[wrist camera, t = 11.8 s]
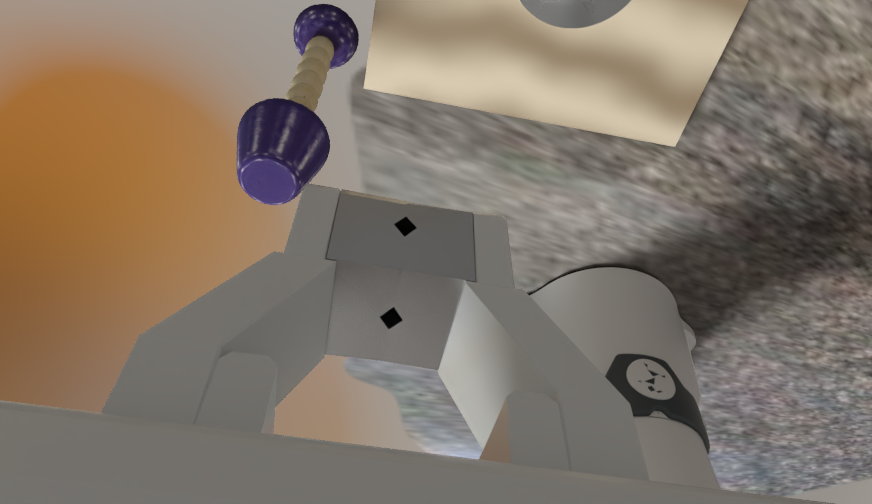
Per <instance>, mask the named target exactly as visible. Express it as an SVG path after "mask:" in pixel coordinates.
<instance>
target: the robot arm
mask: <svg viewBox="0 0 872 504" xmlns="http://www.w3.org/2000/svg"><path fill="white" fill-rule="evenodd" d="M695 345H696V338H695V334H694V331H693V330H692V328H691V327H690V326H689V325H688V324H687V323H685V322H684V321H683V320H682V319H681V317H680V315H679V312H678V308H677V303H676V301H675V298H674V296H673V295H672V293H671V292H670V290H669V289H668V288H667V287H666V286H665V285H664V284H663V283H661V282H660V281H658V280H657V279H655V278H654V277H652V276H650V275H647V274H645V273H642V272H639V271H635V270H631V269H625V268H615V267H605V268H593V269H587V270H582V271H578V272H575V273H572V274H569V275H566V276H564V277H561V278H559V279H557V280H555V281H553V282H551V283H550V284H548V285H546V286H545V287H543V288H542V289H540V290H539V291H537V292H535V293H533V294H531V295H528V294H527V293H526V292H525V291H524V290H520V289H515V287H514V279H513V270H512V262H511V253H510V245H509V237H508V228H507V220H506V219H505V217H504V216H501V215H493V214H486V213H479V212H465V211H459V210H453V209H446V208H440V207H434V206H427V205H421V204H415V203H408V202H406V201H401V200H396V199H391V198H385V197H380V196H375V195H369V194H364V193H358V192H354V191H348V190H343V189H342V191H340V190H339V189H337V188H331V187H325V186H320V185H314V184H308V183H307V184H306V186H305V187H304V188H303V192H302V194H301V198H300V201H299V205H298V208H297V211H296V214H295V218H294V221H293V224H292V228H291V231H290V235H289V238H288V241H287V245H286V248H285V251H284V253H281V252H272V253H270V254H269V255H268V256H266V257H264V258H262V259H261V260H259V261H258V262H256V263H255V264H253V265H251V266H250V267H248V268H247V269H245V270H243V271H242V272H240V273H238V274H237V275H236V276H234V277H232V278H230V279H229V280H227V281H226V282H224V283H222V284H221V285H220V286H218V287H216V288H214V289H213V290H211V291H210V292H208V293H206V294H205V295H203V296H202V297H200V298H199V299H197V300H195V301H194V302H192V303H190V304H189V305H187V306H186V307H184V308H182V309H181V310H179V311H178V312H176V313H174V314H173V315H171V316H169V317H168V318H166V319H165V320H163V321H162V322H160V323H158V324H157V325H155V326H153V327H152V328H150V329H149V330H147V331H146V332H144V333H142V334H141V335H139V337H138V339H137V341H136V343H135V345H134V347H133V349H132V352H131V353H130V355H129V357H128V359H127V361H126V363H125V365H124V368H123V369H122V372H121V374H120V376H119V378H118V380H117V382H116V384H115V386H114V388H113V390H112V392H111V394H110V396H109V398H108V400H107V402H106V404H105V406H104V408H103V410H102V412H101V413H97V412H89V411H81V410H72V409H65V408H56V407H48V406H40V405H33V404H25V403H17V402H8V401H0V504H834V503H826V502H818V501H809V500H802V499H793V498H786V497H777V496H769V495H761V494H753V493H745V492H737V491H729V490H721V489H720V486H719V483H718V481H717V478H716V476H715V473H714V471H713V468H712V465H711V462H710V460H709V457H708V454H709V448H710V445H709V440H708V436H707V429H706V424H705V421H704V418H703V416H702V415H701V414H700V411H699V408H698V406H700V405H701V400H702V398H701V392H700V388H699V384H698V380H697V376H696V372H695V367H694V363H693V360H692V356H691V352H690V351H691V350H692V349H693V348H694V346H695ZM324 354H327V355H336V356H345V357H354V358H363V359H372V360H380V361H387V362H393V363H399V364H405V365H411V366H417V367H423V368H429V369H435V370H438V374H439V376H440V377H441V379H442V381H443V383H444V384H445V386H446V388H447V389H448V391H449V393H450V395H451V396H452V398H453V400H454V402H455V403H456V405H457V407H458V408H459V410H460V412H461V414H462V415H463V417H464V419H465V420H466V422H467V424H468V426H469V427H470V429H471V431H472V432H473V434H474V436H475V438H476V439H477V441H478V443H479V444H480V446H481V448H482V450H483V452H482V454H481V456H480V458H479V459H470V458H462V457H454V456H446V455H438V454H430V453H422V452H413V451H405V450H397V449H389V448H381V447H373V446H364V445H356V444H349V443H340V442H332V441H324V440H316V439H308V438H300V437H292V436H284V435H276V434H273V433H274V417H275V407H276V406H277V405H278V404H279V403H280V402H281V401H282V400H283V399H284V398H285V397H286V396H287V395H288V394H289V393H290V392H291V391H292V390H293V388H294V387H296V386H297V385H298V384H299V383H300V381H301V380H302V379H303V378H304V377H305V376H306V375H307V374H308V373H309V372H310V371H311V370H312V369H313V368H314V367H315V366H316V365H317V364H318V363H319V362H320V361H321V360H322V359H323V358H324Z"/></svg>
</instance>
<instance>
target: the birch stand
mask: <svg viewBox="0 0 872 504" xmlns="http://www.w3.org/2000/svg"><path fill="white" fill-rule="evenodd" d="M748 1H749V0H631V1H630V2H629V3H628V4H627V5H626V6H625V7H624V8H623V9H622V10H621V11H619V12H618V13H617V14H615V15H614V16H612V17H611V18H609V19H607V20H605V21H603V22H601V23H598V24H595V25H592V26H588V27H584V28H561V27H556V26H552V25H549V24H547V23H545V22H542V21H541V20H539V19H538V18H536V17H535V16H533V15H532V14H531V13H530V12H529V11H528V10H527V9H526V8H525V7H524V6H523V4H522V3H521V1H520V0H376V3H375V10H374V17H373V25H372V33H371V39H370V47H369V54H368V61H367V69H366V76H365V83H364V89H369V90H375V91H380V92H385V93H391V94H396V95H401V96H407V97H412V98H417V99H423V100H428V101H433V102H439V103H444V104H449V105H455V106H460V107H465V108H471V109H476V110H481V111H487V112H492V113H497V114H503V115H508V116H513V117H519V118H524V119H529V120H535V121H540V122H545V123H551V124H556V125H561V126H567V127H572V128H577V129H583V130H588V131H593V132H599V133H604V134H609V135H615V136H620V137H625V138H631V139H636V140H641V141H647V142H652V143H657V144H663V145H668V146H674V147H675V146H676V144H677V142H678V140H679V138H680V136H681V134H682V132H683V130H684V128H685V126H686V124H687V122H688V120H689V118H690V116H691V114H692V112H693V110H694V108H695V106H696V104H697V102H698V100H699V98H700V96H701V94H702V92H703V90H704V88H705V86H706V84H707V82H708V80H709V78H710V76H711V74H712V72H713V70H714V68H715V66H716V64H717V62H718V60H719V58H720V56H721V54H722V52H723V50H724V48H725V46H726V44H727V42H728V40H729V38H730V36H731V34H732V32H733V30H734V28H735V26H736V24H737V23H738V21H739V19H740V17H741V15H742V13H743V11H744V9H745V7H746V5H747V3H748Z"/></svg>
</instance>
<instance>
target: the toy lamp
mask: <svg viewBox="0 0 872 504" xmlns="http://www.w3.org/2000/svg"><path fill="white" fill-rule="evenodd" d="M358 40H359V39H358V30H357V28H356V25H355V24H354V22H353V20H352V19H351V18H350V17H349V16H348V14H347V13H346V12H344V11H343V10H341V9H340V8H338V7H335V6H333V5H328V4H319V5H313V6H310V7H308V8H306V9H305V10H303V12H301V13H300V14H299V16H298V18H297V19H296V22H295V26H294V41H295V44H296V47H297V49H298V51H299V53H300V54H301V55H302V58H301V63H300V64H299V65H298V67H297V70H296V75H295V77H294V78H293V80H292V83H291V88H290V89H289V91H288V93H287V95H286V98H285V99H279V98H274V99H266V100H264V101H260V102H258V103H256V104H255V105H253V106H252V107H250V108H249V109H248V110H247V111H246V112H245V114H244V115H243V117H242V119H241V121H240V123H239V127H238V134H237V177H238V180H239V183H240V185H241V187H242V189H243V190H244V191H245V192H246V193H247V194H248V195H249V196H250V197H251V198H253V199H254V200H257V201H259V202H261V203H264V204H270V205H279V204H284V203H287V202H289V201H291V200H292V199H294V198H295V197H296V196H297V195H298V194H299V193H300V192H301V191H302V190H303V188H304V187H305V186H306V184H307V183H309V182H310V181H311V180H312V178H313V177H314V176H315V175H316V174H317V173H318V172H319V170H320V169H321V168H322V166H323V165H324V163H325V161H326V159H327V157H328V154H329V150H330V140H329V135H328V133H327V130H326V127H325V125H324V124H323V122H322V121H321V120H320V118H319V117H318V116H317V115H316V114H315V113H314V111H315V109H316V107H317V103H318V99H319V97H320V95H321V93H322V89H323V84H324V83H325V80H326V75H327V72H328V70H329V69H330V68H331V69H332V68H336V67H339V66H341V65H343V64H345V63H346V62H348V61H349V59H350V58H351V57H352V56H353V55H354V53H355V51H356V49H357V46H358Z"/></svg>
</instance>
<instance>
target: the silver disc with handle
mask: <svg viewBox="0 0 872 504" xmlns="http://www.w3.org/2000/svg"><path fill="white" fill-rule="evenodd" d="M520 1H521V3H522V4H523V6H524V7H525V8H526V9H527V10H528V11H529V12H530V13H531V14H532V15H533V16H535V17H536V18H538V19H539V20H541V21H542V22H545V23H547V24H549V25H552V26H556V27H561V28H584V27H588V26H592V25H595V24H598V23H601V22H603V21H605V20H607V19H609V18H611V17H612V16H614V15H615V14H617V13H618V12H619V11H621V10H622V9H623V8H624V7H625V6H626V5H627V4H628V3H629V2H630V1H631V0H520Z"/></svg>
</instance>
